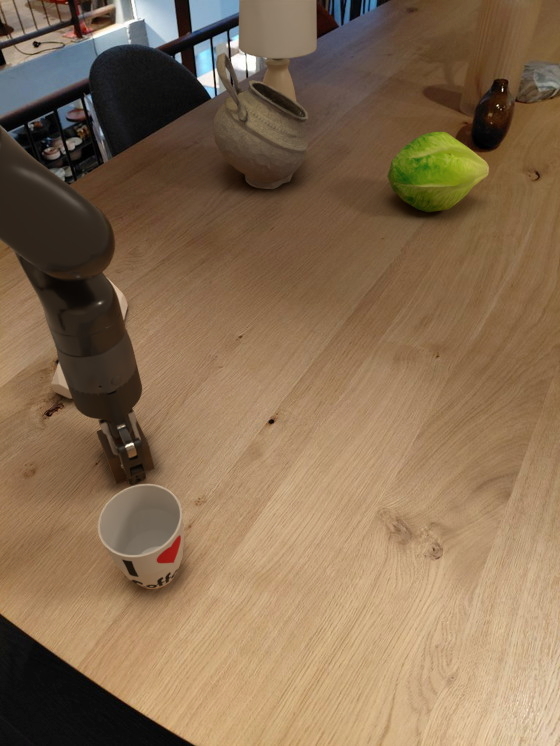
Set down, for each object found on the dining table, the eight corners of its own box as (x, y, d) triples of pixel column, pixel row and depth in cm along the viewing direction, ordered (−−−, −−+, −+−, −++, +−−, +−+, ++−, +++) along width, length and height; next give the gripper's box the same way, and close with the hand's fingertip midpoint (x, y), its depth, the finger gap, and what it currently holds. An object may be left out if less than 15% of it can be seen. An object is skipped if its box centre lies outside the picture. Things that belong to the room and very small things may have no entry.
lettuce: (489, 221, 117) (501, 166, 105) (390, 231, 119) (391, 179, 108) (477, 172, 124) (487, 116, 113) (384, 183, 127) (384, 130, 115)
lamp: (314, 118, 155) (322, -50, 129) (310, 146, 142) (318, -34, 116) (247, 115, 156) (241, -52, 130) (236, 142, 143) (228, -36, 117)
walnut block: (116, 484, 70) (107, 459, 67) (104, 455, 73) (96, 430, 70) (154, 468, 72) (148, 444, 68) (142, 441, 75) (135, 416, 72)
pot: (200, 189, 125) (187, 65, 107) (240, 153, 139) (235, 37, 121) (286, 208, 119) (288, 80, 102) (320, 168, 133) (326, 49, 115)
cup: (125, 614, 59) (105, 569, 52) (111, 547, 64) (91, 498, 57) (201, 586, 61) (191, 539, 54) (181, 523, 66) (170, 473, 59)
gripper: (49, 337, 64) (84, 432, 75) (82, 424, 55) (116, 516, 66) (114, 317, 66) (138, 412, 78) (156, 397, 57) (176, 490, 69)
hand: (128, 459), depth 72 cm, fingers open, 6 cm apart
